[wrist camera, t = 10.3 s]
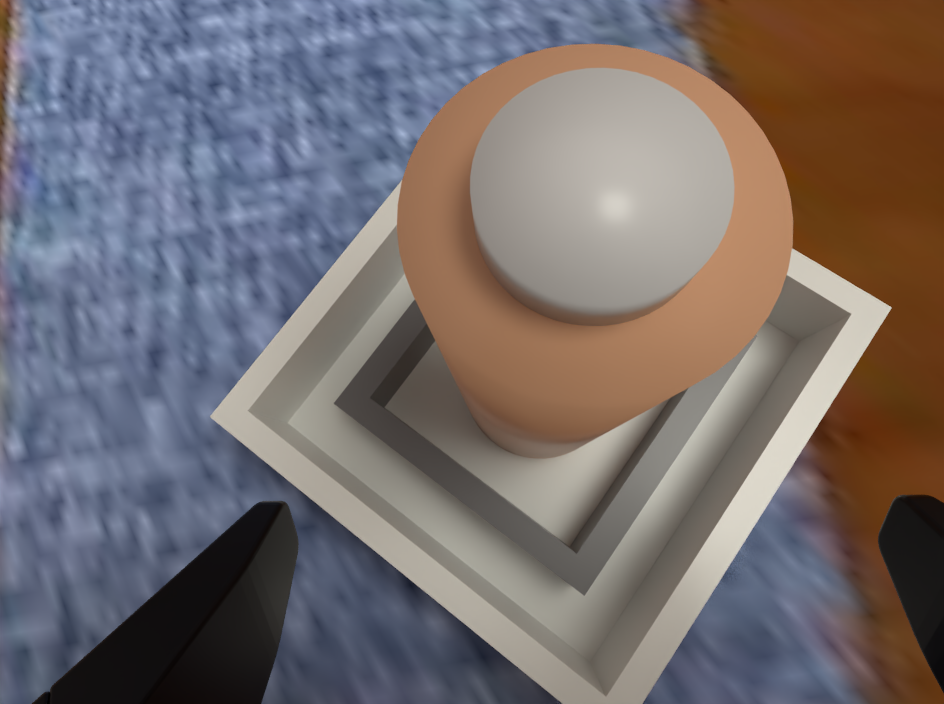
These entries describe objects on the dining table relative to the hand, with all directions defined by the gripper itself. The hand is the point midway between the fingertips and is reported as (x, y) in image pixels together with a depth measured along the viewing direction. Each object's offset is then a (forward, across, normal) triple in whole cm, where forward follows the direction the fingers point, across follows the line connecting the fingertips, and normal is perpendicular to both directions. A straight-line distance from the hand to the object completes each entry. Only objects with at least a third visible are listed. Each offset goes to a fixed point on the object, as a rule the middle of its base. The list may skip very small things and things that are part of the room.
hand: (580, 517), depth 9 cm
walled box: (+11, 0, +5) cm, 12 cm away
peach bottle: (+10, 0, +5) cm, 11 cm away
